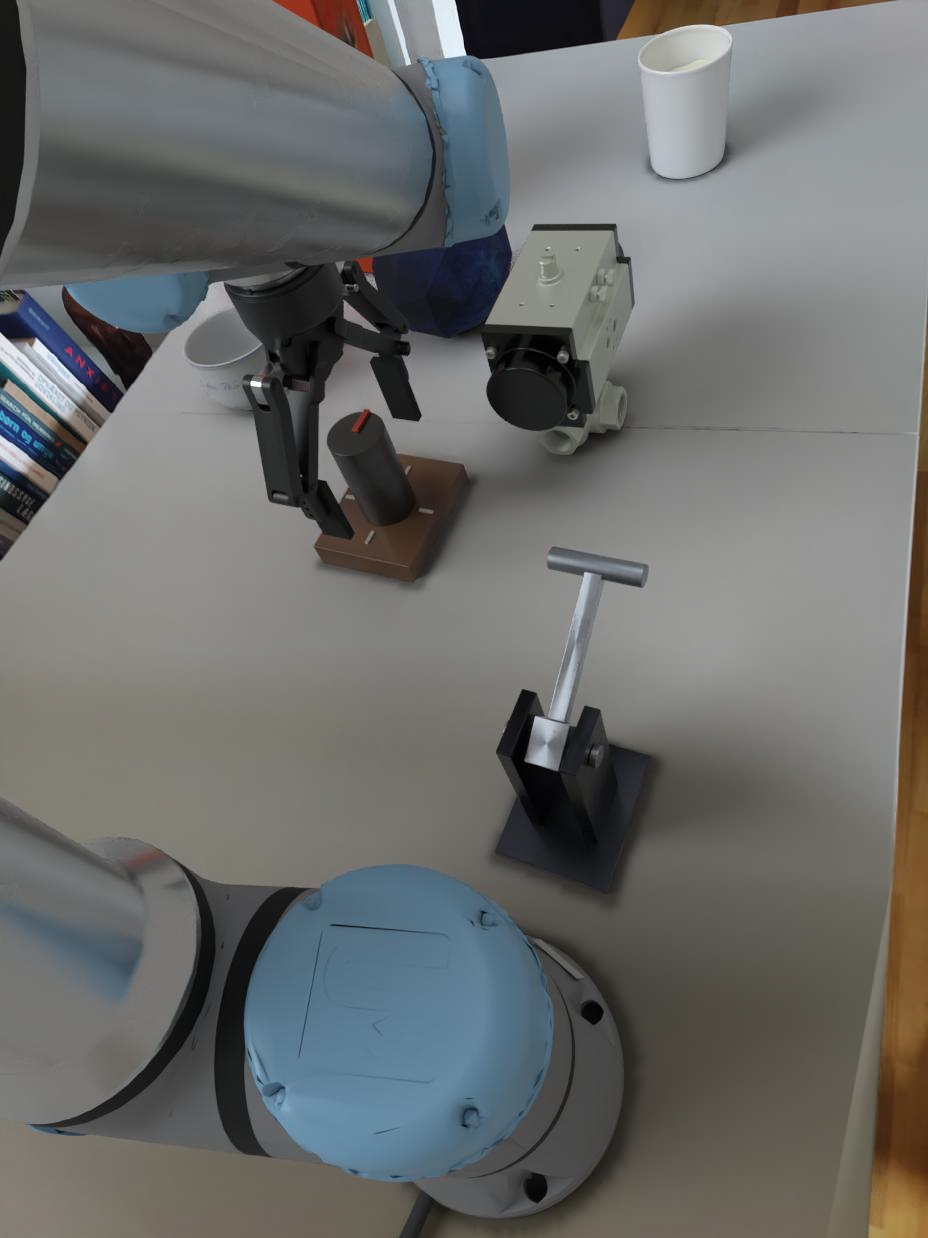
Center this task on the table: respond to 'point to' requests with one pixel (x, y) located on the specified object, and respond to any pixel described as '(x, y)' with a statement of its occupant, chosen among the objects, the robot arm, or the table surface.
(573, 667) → the tap lever
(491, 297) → the decorative orb
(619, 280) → the ball valve
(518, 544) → the table surface
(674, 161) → the candle holder
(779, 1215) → the table surface
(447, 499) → the dial panel
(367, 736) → the table surface
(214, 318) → the teacup
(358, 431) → the dial knob
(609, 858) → the tap bracket
